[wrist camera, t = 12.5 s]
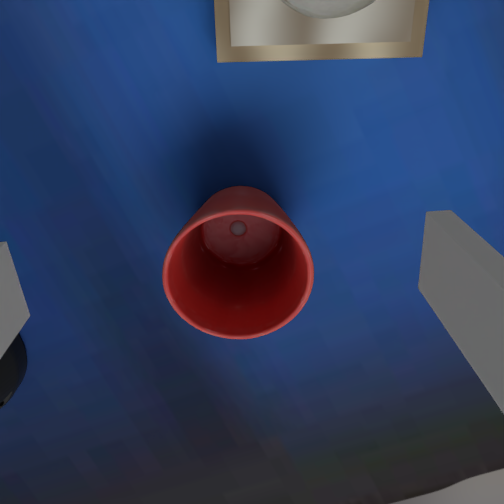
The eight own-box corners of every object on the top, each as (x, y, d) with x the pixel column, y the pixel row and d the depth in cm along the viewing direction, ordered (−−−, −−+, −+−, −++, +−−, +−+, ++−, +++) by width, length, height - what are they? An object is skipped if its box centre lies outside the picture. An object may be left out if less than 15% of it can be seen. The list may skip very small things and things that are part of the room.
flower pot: (165, 179, 41) (142, 225, 32) (292, 157, 40) (304, 198, 31) (194, 285, 45) (181, 349, 37) (308, 266, 44) (322, 328, 36)
